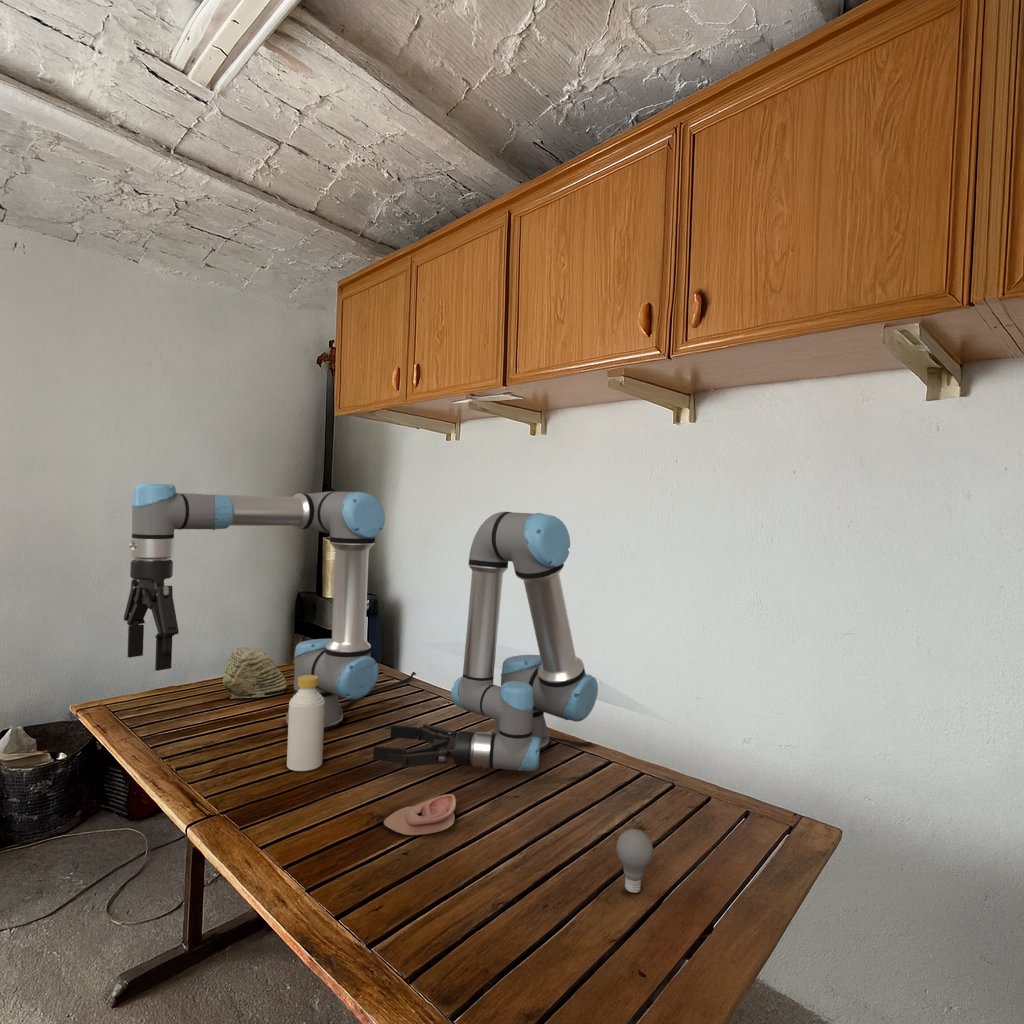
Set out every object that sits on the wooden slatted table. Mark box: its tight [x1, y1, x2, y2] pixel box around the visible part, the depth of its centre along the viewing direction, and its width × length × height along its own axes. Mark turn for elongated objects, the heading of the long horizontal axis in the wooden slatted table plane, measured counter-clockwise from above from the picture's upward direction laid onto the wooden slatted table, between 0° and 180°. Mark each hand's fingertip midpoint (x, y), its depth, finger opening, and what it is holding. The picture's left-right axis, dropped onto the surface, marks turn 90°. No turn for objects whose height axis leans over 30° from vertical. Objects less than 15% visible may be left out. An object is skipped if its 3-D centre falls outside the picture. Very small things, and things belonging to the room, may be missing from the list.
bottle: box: [286, 687, 325, 772], centre depth 149 cm, size 8×8×20 cm
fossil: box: [222, 646, 288, 699], centre depth 198 cm, size 9×18×15 cm, turn 132°
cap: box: [298, 675, 318, 688], centre depth 149 cm, size 5×5×2 cm
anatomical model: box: [383, 793, 457, 836], centre depth 125 cm, size 13×4×12 cm
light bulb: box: [615, 828, 654, 894], centre depth 106 cm, size 6×6×10 cm
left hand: (148, 662), depth 129 cm, fingers open, 13 cm apart
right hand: (382, 741), depth 148 cm, fingers open, 13 cm apart
